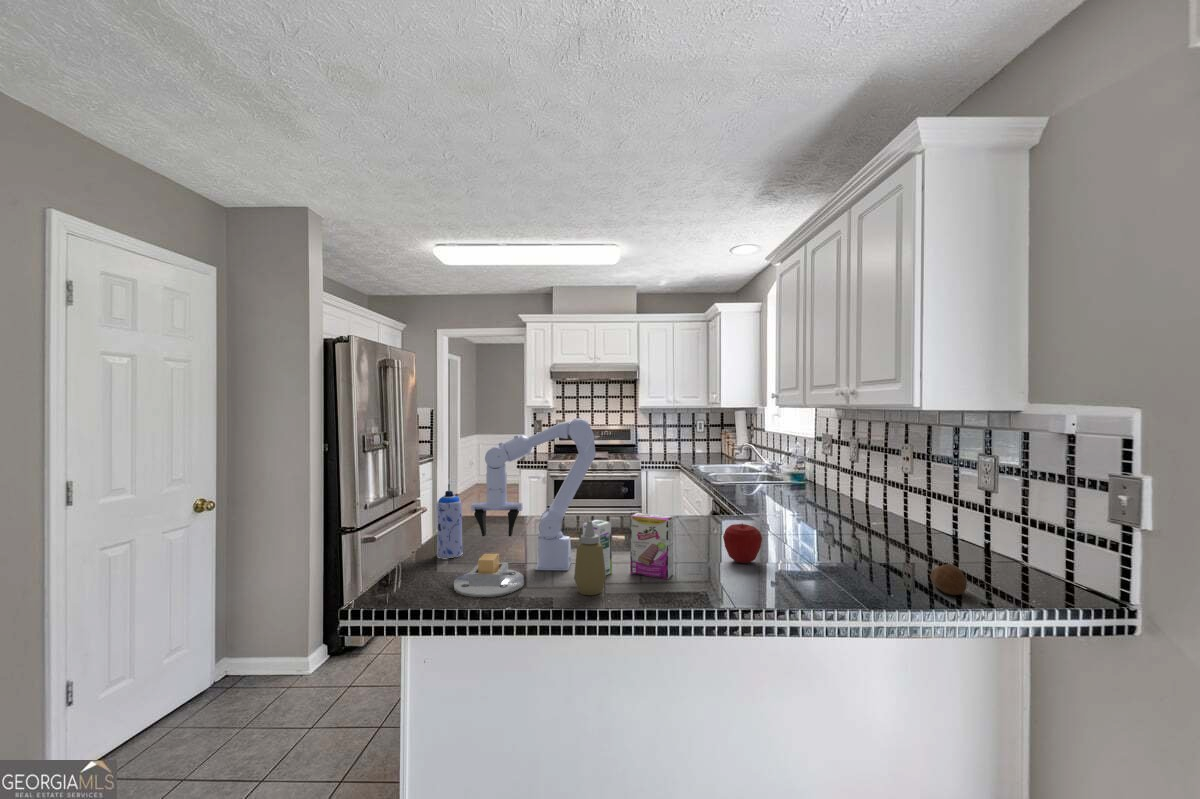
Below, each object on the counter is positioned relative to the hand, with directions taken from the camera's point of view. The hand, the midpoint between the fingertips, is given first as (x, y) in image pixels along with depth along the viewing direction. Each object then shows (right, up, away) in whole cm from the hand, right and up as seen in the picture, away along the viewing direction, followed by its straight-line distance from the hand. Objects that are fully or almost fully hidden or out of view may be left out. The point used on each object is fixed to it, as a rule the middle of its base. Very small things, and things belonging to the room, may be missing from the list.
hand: (497, 535), depth 165 cm
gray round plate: (0, -10, -14) cm, 17 cm away
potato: (+117, -9, -22) cm, 119 cm away
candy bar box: (+44, -9, -7) cm, 45 cm away
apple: (+72, -9, +4) cm, 72 cm away
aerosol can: (-17, -10, +13) cm, 23 cm away
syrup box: (+29, -10, -6) cm, 31 cm away
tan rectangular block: (0, -8, -14) cm, 16 cm away
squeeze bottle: (+27, -10, -20) cm, 35 cm away
